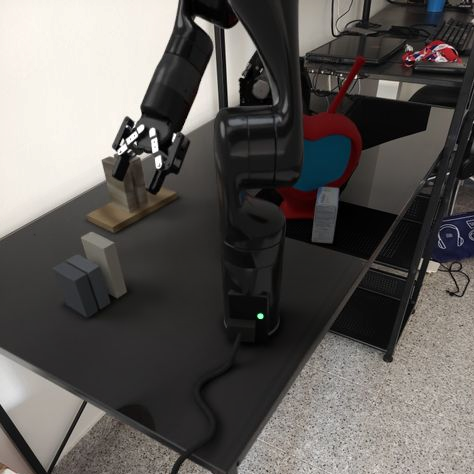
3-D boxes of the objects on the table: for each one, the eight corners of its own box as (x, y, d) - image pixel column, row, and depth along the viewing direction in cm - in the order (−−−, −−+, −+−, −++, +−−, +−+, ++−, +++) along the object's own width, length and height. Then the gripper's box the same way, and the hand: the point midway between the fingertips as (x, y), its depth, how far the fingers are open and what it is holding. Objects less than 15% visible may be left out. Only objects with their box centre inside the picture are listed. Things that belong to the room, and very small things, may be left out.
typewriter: (337, 183, 109) (355, 68, 91) (232, 176, 112) (229, 64, 94) (340, 137, 130) (355, 37, 112) (251, 133, 134) (252, 35, 116)
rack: (151, 188, 109) (143, 138, 100) (177, 198, 105) (171, 147, 96) (87, 220, 98) (72, 168, 89) (114, 233, 94) (100, 179, 85)
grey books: (89, 290, 80) (77, 253, 74) (110, 302, 77) (99, 265, 72) (66, 304, 77) (51, 267, 71) (87, 318, 75) (74, 281, 69)
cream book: (105, 280, 82) (91, 231, 75) (127, 292, 79) (114, 242, 72) (95, 286, 81) (80, 237, 73) (117, 298, 78) (103, 248, 71)
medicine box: (332, 244, 89) (338, 205, 83) (310, 242, 90) (315, 203, 84) (334, 225, 95) (340, 187, 89) (313, 223, 95) (318, 185, 89)
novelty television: (257, 222, 96) (260, 65, 75) (258, 195, 105) (261, 48, 83) (351, 223, 95) (382, 64, 74) (344, 195, 104) (369, 47, 83)
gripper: (127, 72, 71) (90, 165, 73) (190, 87, 65) (148, 188, 67) (155, 99, 78) (120, 184, 80) (215, 115, 72) (175, 206, 74)
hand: (133, 186), depth 74 cm, fingers open, 8 cm apart
